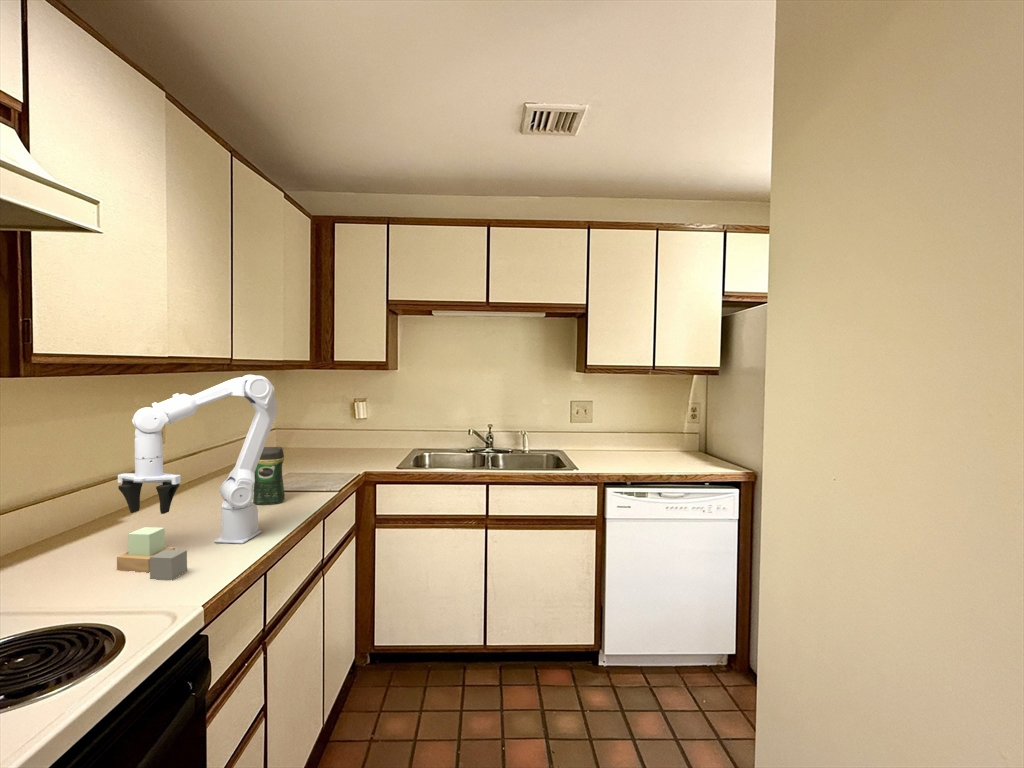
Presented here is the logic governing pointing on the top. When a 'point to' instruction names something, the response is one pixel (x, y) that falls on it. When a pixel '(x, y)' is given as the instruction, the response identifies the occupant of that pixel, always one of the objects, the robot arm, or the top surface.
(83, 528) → the top surface
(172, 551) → the charcoal cube
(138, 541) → the sage cube
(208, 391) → the robot arm
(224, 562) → the top surface
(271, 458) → the coffee jar
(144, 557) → the walnut base
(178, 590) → the top surface
